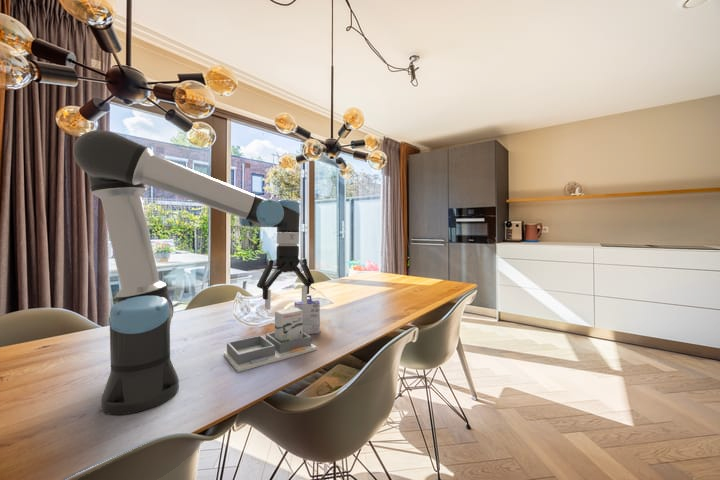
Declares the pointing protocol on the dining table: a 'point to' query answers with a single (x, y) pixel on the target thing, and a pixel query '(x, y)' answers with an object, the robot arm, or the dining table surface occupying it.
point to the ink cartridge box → (310, 315)
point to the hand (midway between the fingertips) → (286, 306)
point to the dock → (264, 350)
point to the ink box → (288, 324)
